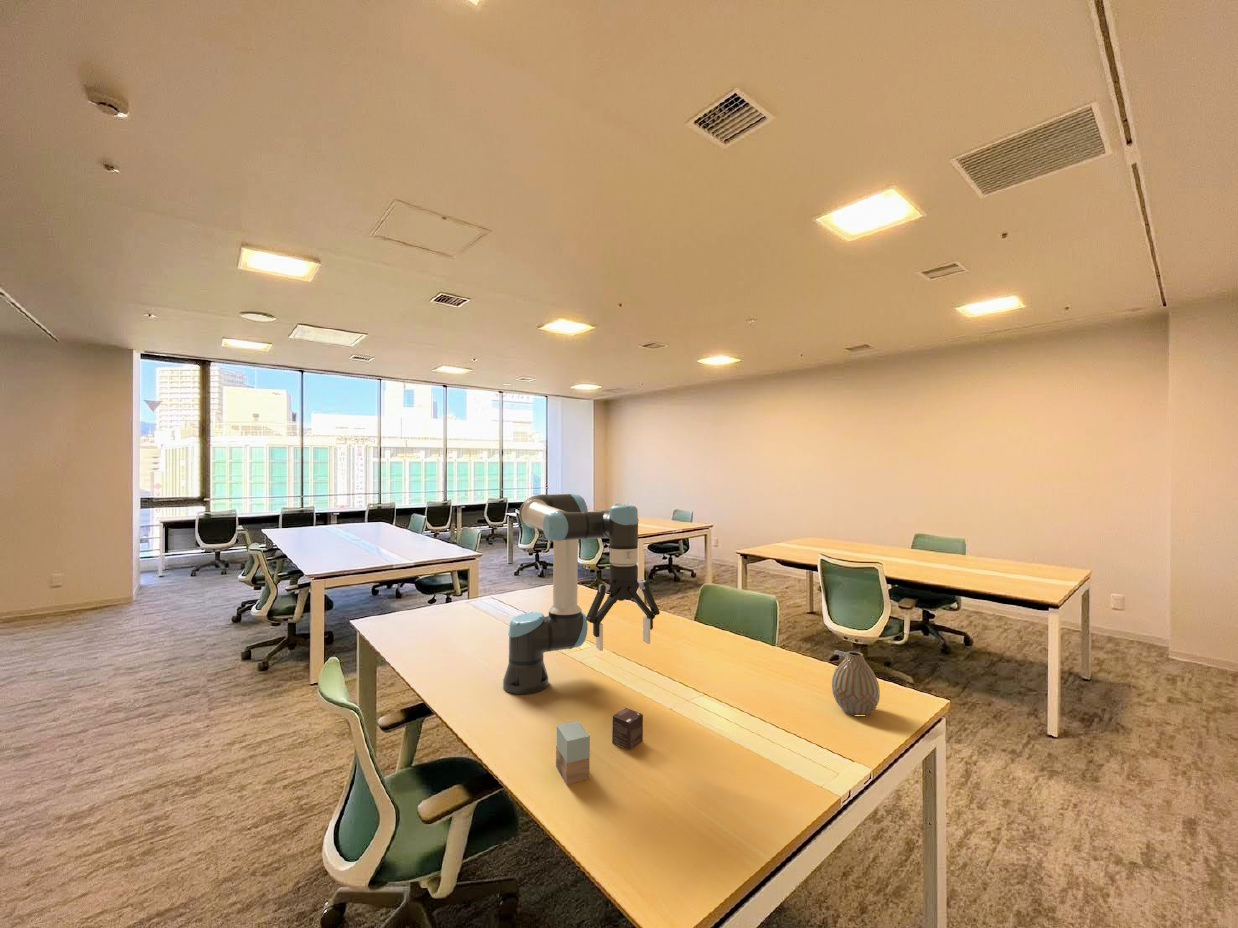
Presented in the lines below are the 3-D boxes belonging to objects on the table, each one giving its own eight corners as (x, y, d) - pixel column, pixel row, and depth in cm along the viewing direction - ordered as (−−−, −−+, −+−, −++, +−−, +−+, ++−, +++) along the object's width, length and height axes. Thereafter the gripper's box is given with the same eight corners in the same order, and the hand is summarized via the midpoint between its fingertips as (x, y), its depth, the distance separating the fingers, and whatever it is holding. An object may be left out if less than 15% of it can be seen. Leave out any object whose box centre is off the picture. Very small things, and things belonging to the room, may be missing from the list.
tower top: (556, 746, 121) (556, 725, 121) (578, 741, 123) (578, 720, 123) (566, 763, 113) (567, 741, 113) (589, 757, 116) (589, 736, 116)
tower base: (555, 766, 120) (556, 746, 121) (577, 761, 123) (577, 741, 123) (566, 785, 113) (566, 763, 113) (589, 779, 116) (589, 757, 116)
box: (625, 734, 136) (626, 707, 136) (643, 741, 132) (643, 713, 132) (611, 743, 131) (611, 715, 132) (629, 751, 128) (629, 722, 128)
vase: (881, 708, 152) (880, 651, 153) (878, 726, 141) (878, 664, 142) (835, 698, 159) (834, 643, 160) (829, 715, 148) (828, 655, 148)
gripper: (584, 569, 122) (583, 656, 121) (671, 563, 132) (672, 643, 131) (574, 564, 129) (573, 647, 128) (658, 559, 139) (658, 635, 138)
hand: (623, 645), depth 130 cm, fingers open, 13 cm apart
